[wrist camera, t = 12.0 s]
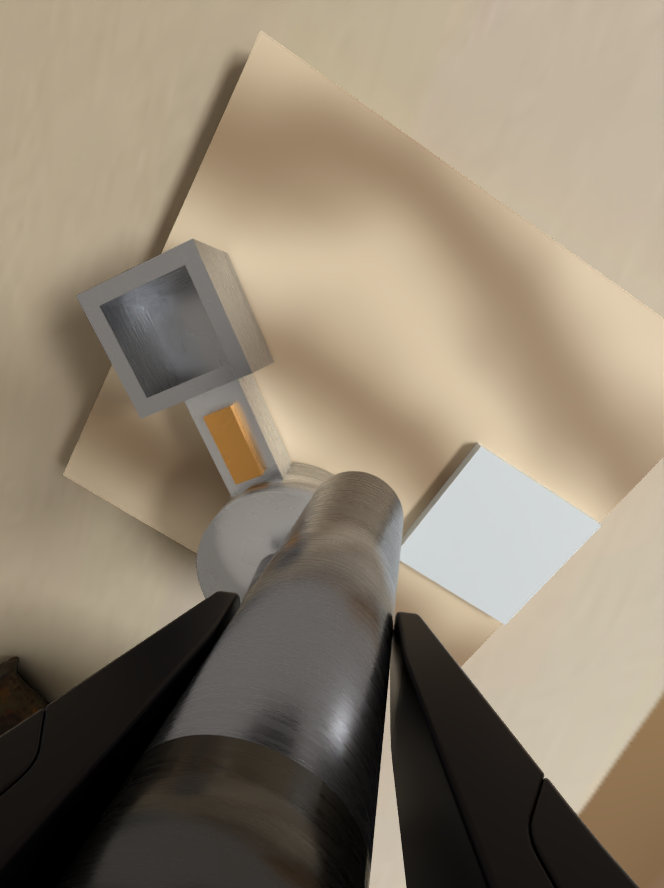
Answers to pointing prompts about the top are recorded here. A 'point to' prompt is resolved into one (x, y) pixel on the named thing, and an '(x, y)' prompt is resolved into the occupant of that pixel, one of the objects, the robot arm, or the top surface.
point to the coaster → (494, 535)
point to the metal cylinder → (273, 723)
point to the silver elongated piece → (207, 396)
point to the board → (390, 330)
